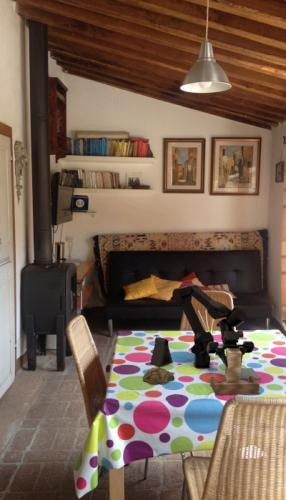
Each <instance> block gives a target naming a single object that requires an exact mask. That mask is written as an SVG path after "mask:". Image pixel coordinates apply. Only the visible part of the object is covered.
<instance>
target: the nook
mask: <svg viewBox="0 0 286 500" xmlns="http://www.w3.org/2000/svg"><path fill="white" fill-rule="evenodd" d="M209 386H210V387H211V389H212V391H213V393H214V395H219V396H220V395H256V394H260V382H258V381H257V379H254V378H253V377H252V376H249V379H248V382H240V383H227V382H220V383H218V382H217V380H216V379H215V377H214V376H210V385H209Z"/></svg>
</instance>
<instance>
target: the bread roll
mask: <svg viewBox="0 0 286 500" xmlns="http://www.w3.org/2000/svg"><path fill="white" fill-rule="evenodd" d="M175 378H176V377H175V375H174V374H173V373H172V372H171V371H169V370H167V369H165V368H163V367H157V366H155V367H151V368H150V369H148V370H147V371H146V372H145V373H144V374H143V376H142V380H143V381H144V382H147V383H148V384H149V385H151V386H158V385H161V386H163V385H167V384H168V383H171V382H174V381H175Z"/></svg>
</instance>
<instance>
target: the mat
mask: <svg viewBox="0 0 286 500" xmlns="http://www.w3.org/2000/svg"><path fill="white" fill-rule="evenodd" d="M249 376H252V377H253V378H254V379H255V380H261V376H260V375H259V374H258V373H257V372H256V371H255V369H254V368H253V367H241V373H240V381H241V380H249Z"/></svg>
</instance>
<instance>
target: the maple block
mask: <svg viewBox="0 0 286 500" xmlns="http://www.w3.org/2000/svg"><path fill="white" fill-rule="evenodd" d="M241 354H242V353H241V351H240V350H239V349H238V348H226V350H225V355H226V359H227V363H228V367H226V366H225V365H224V367H225V368H224V381H225V383H241V380H240V373H241V368H242V365H241Z"/></svg>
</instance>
